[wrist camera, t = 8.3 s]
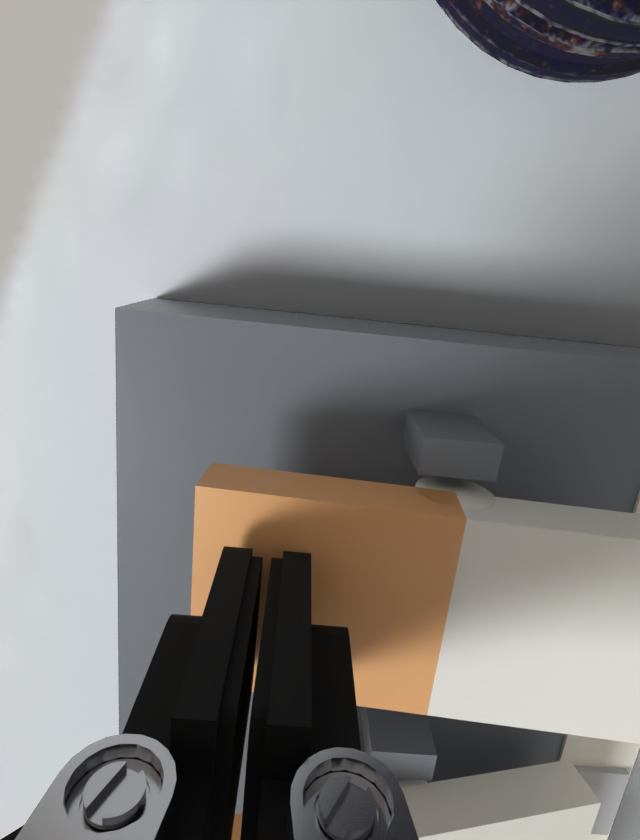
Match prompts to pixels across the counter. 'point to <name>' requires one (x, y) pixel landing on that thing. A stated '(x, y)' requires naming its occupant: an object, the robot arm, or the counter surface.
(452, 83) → the counter surface
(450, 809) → the switch
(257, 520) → the switch
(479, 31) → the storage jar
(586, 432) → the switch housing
